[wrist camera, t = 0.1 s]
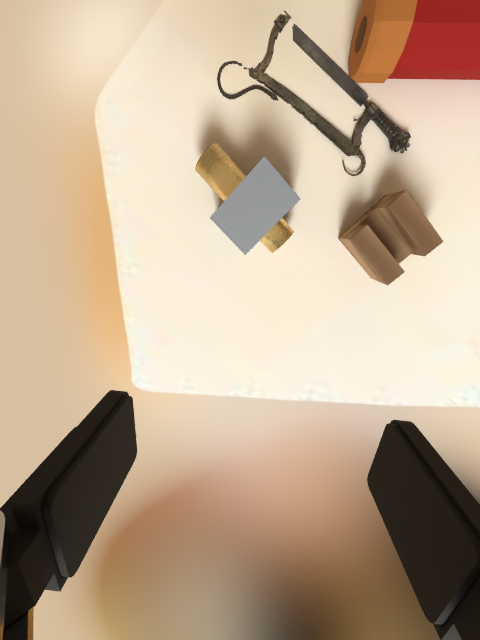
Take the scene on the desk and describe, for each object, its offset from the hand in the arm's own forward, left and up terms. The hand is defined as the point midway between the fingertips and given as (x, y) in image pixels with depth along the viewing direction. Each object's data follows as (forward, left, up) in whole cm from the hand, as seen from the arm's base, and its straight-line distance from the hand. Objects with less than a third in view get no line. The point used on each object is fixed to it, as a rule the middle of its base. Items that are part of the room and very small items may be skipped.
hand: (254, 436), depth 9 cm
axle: (-6, -8, -30) cm, 32 cm away
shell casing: (-32, -4, -31) cm, 45 cm away
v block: (-16, +8, -31) cm, 36 cm away
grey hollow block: (-6, -7, -31) cm, 33 cm away
